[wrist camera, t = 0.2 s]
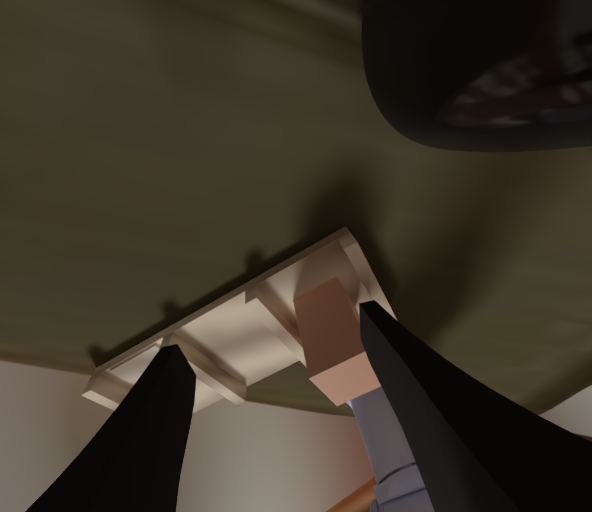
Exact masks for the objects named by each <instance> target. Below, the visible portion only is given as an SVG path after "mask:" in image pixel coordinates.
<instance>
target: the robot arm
mask: <svg viewBox="0 0 592 512" xmlns="http://www.w3.org/2000/svg"><path fill="white" fill-rule="evenodd" d="M359 314H360V338H361V341H362V344H363V346H364V349H365V352H366V355H367V357H368V360H369V362H370V364H371V367H372V369H373V371H374V373H375V375H376V377H377V379H378V381H379V383H380V385H381V386H380V387H378V388H376V389H374V390H372V391H369V392H367V393H365V394H363V395H361V396H358V397H356V398H354V399H352V400H350V401H347V402H346V403H347V404H348V405H349V406H350V407H351V408H352V409H353V411H354V414H355V417H356V421H357V424H358V427H359V430H360V433H361V436H362V439H363V442H364V445H365V448H366V451H367V455H368V458H369V461H370V464H371V467H372V470H373V473H374V476H375V479H376V482H377V486H374V487H373V489H374V493H375V496H376V499H374V500H372V502H371V509H370V512H592V442H590V441H588V440H586V439H584V438H582V437H580V436H577V435H575V434H573V433H571V432H569V431H567V430H565V429H563V428H561V427H559V426H557V425H555V424H554V423H552V422H550V421H548V420H546V419H544V418H542V417H540V416H538V415H536V414H534V413H533V412H531V411H529V410H527V409H526V408H524V407H522V406H520V405H518V404H517V403H515V402H513V401H511V400H510V399H508V398H506V397H504V396H502V395H501V394H499V393H497V392H495V391H494V390H492V389H490V388H489V387H487V386H486V385H484V384H482V383H481V382H479V381H478V380H476V379H474V378H473V377H471V376H470V375H468V374H467V373H465V372H464V371H462V370H461V369H459V368H458V367H456V366H455V365H453V364H452V363H450V362H449V361H448V360H446V359H445V358H443V357H442V356H441V355H439V354H438V353H437V352H435V351H434V350H433V349H431V348H430V347H429V346H427V345H426V344H425V343H424V342H422V341H421V340H420V339H419V338H417V337H416V336H415V335H414V334H413V333H411V332H410V331H409V330H408V329H406V328H405V327H404V326H403V325H402V324H401V323H399V322H398V321H397V320H396V319H395V318H394V317H393V316H392V315H390V314H389V313H388V312H387V311H386V310H385V309H384V308H383V307H382V306H381V305H380V304H379V303H378V302H376V301H375V300H372V301H367V302H363V303H359ZM195 391H196V374H195V372H194V370H193V369H192V367H191V365H190V364H189V362H188V360H187V359H186V357H185V355H184V354H183V352H182V350H181V349H180V347H179V345H178V344H174V345H169V346H165V347H161V349H160V350H159V351H158V353H157V354H156V355H155V357H154V358H153V359H152V361H151V362H150V364H149V365H148V366H147V368H146V369H145V371H144V372H143V373H142V375H141V376H140V377H139V379H138V380H137V382H136V383H135V384H134V386H133V387H132V388H131V390H130V391H129V392H128V394H127V395H126V396H125V398H124V399H123V400H122V402H121V403H120V404H119V406H118V407H117V408H116V410H115V411H114V412H113V413H112V415H111V416H110V417H109V418H108V420H107V421H106V422H105V423H104V425H103V426H102V427H101V429H100V430H99V431H98V432H97V433H96V435H95V436H94V437H93V438H92V440H91V441H90V442H89V443H88V444H87V446H86V447H85V448H84V449H83V450H82V451H81V453H80V454H79V455H78V456H77V457H76V458H75V459H74V460H73V462H72V463H71V464H70V465H69V466H68V467H67V468H66V470H65V471H64V472H63V473H62V474H61V475H60V476H59V477H58V478H57V479H56V481H55V482H54V483H53V484H52V485H51V486H50V487H49V488H48V489H47V490H46V491H45V492H44V493H43V494H42V495H41V496H40V497H39V498H38V499H37V500H36V501H35V502H34V503H33V504H32V505H31V506H30V507H29V508H28V510H27V511H26V512H176V504H177V496H178V487H179V480H180V473H181V468H182V463H183V458H184V453H185V449H186V444H187V438H188V434H189V429H190V423H191V418H192V413H193V408H194V402H195Z"/></svg>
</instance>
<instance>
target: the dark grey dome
mask: <svg viewBox="0 0 592 512" xmlns="http://www.w3.org/2000/svg"><path fill="white" fill-rule="evenodd" d="M362 52H363V62H364V68H365V73H366V78H367V82H368V85H369V88H370V91H371V94H372V96H373V99H374V101H375V103H376V105H377V107H378V109H379V110H380V112H381V113H382V115H383V116H384V118H385V119H386V120H387V121H388V123H389V124H390V125H391V126H392V127H393V128H394V129H395V130H396V131H398V132H399V133H400V134H402V135H403V136H405V137H406V138H408V139H410V140H412V141H414V142H417V143H419V144H422V145H426V146H429V147H434V148H438V149H444V150H453V151H469V152H525V151H540V150H553V149H565V148H575V147H585V146H592V0H365V3H364V11H363V21H362Z"/></svg>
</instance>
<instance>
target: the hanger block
mask: <svg viewBox="0 0 592 512" xmlns="http://www.w3.org/2000/svg"><path fill="white" fill-rule="evenodd" d="M293 303H294V308H295V313H296V318H297V323H298V327H299V332H300V337H301V342H302V347H303V352H304V357H305V361H306V366H307V371H308V376H309V379H310V380H311V381H312V382H313V383H314V384H315V385H316V386H317V387H318V388H319V389H320V390H321V391H322V392H323V393H324V394H325V395H326V396H327V397H328V398H329V399H330V400H331V401H332V402H333V403H334V404H335V405H336V406H339V405H341V404H343V403H345V402H347V401H350V400H352V399H354V398H356V397H358V396H361V395H363V394H365V393H367V392H369V391H372V390H374V389H376V388H378V387H380V386H381V385H380V383H379V381H378V379H377V377H376V375H375V373H374V371H373V369H372V367H371V364H370V362H369V360H368V357H367V355H366V352H365V349H364V346H363V344H362V341H361V338H360V315H359V313H358V311H357V309H356V307H355V305H354V304H353V302H352V300H351V299H350V297H349V296H348V294H347V292H346V291H345V289H344V288H343V286H342V284H341V283H340V281H339V280H338V278H337V276H336V277H334V278H332V279H331V280H329V281H327V282H325V283H323V284H321V285H319V286H318V287H316V288H314V289H312V290H310V291H308V292H307V293H305V294H303V295H301V296H299V297H297V298H295V299H294V300H293Z"/></svg>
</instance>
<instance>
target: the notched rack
mask: <svg viewBox="0 0 592 512" xmlns="http://www.w3.org/2000/svg"><path fill="white" fill-rule="evenodd" d="M336 276H337V278H338V280H339V281H340V283H341V284H342V286H343V288H344V289H345V291H346V292H347V294H348V296H349V297H350V299H351V300H352V302H353V304H354V305H355V307H356V309H357V311H358V313H359V303H363V302H367V301H372V300H375V301H376V302H378V303H379V304H380V305H381V306H382V307H383V308H384V309H385V310H386V311H387V312H388V313H389V314H390V315H392V316H393V317H394V318H395V319H396V317H395V315H394V313H393V311H392V309H391V307H390V305H389V303H388V301H387V299H386V297H385V295H384V293H383V291H382V289H381V287H380V285H379V284H378V282H377V280H376V278H375V276H374V274H373V272H372V270H371V268H370V266H369V264H368V262H367V260H366V258H365V256H364V254H363V252H362V250H361V248H360V246H359V244H358V242H357V241H356V239H355V238H354V237H353V235H352V234H351V232H350V231H349V230H348V228H347V227H346V226H345V227H343V228H341V229H339V230H338V231H336V232H334V233H332V234H331V235H329V236H327V237H325V238H324V239H322V240H320V241H318V242H317V243H315V244H313V245H311V246H310V247H308V248H306V249H304V250H303V251H301V252H299V253H297V254H296V255H294V256H292V257H290V258H289V259H287V260H285V261H283V262H282V263H280V264H278V265H276V266H274V267H273V268H271V269H269V270H267V271H266V272H264V273H262V274H260V275H259V276H257V277H255V278H253V279H252V280H250V281H248V282H246V283H245V284H243V285H241V286H239V287H238V288H236V289H234V290H232V291H231V292H229V293H227V294H225V295H224V296H222V297H220V298H218V299H217V300H215V301H213V302H211V303H210V304H208V305H206V306H204V307H203V308H201V309H199V310H197V311H196V312H194V313H192V314H190V315H189V316H187V317H185V318H183V319H182V320H180V321H178V322H176V323H174V324H173V325H171V326H169V327H167V328H166V329H164V330H162V331H160V332H159V333H157V334H155V335H153V336H152V337H150V338H148V339H146V340H145V341H143V342H141V343H139V344H138V345H136V346H134V347H132V348H131V349H129V350H127V351H125V352H124V353H122V354H120V355H118V356H117V357H115V358H113V359H111V360H110V361H108V362H106V363H104V364H103V365H101V366H99V367H97V368H96V369H95V371H94V373H93V375H92V377H91V378H90V380H89V382H88V384H87V386H86V387H85V389H84V391H83V393H82V396H84V397H86V398H88V399H91V400H93V401H95V402H97V403H99V404H101V405H103V406H105V407H107V408H110V409H112V410H114V411H115V410H116V408H117V407H118V406H119V404H120V403H121V402H122V400H123V399H124V398H125V396H126V395H127V394H128V392H129V391H130V390H131V388H132V387H133V386H134V384H135V383H136V382H137V380H138V379H139V377H140V376H141V375H142V373H143V372H144V371H145V369H146V368H147V366H148V365H149V364H150V362H151V361H152V359H153V358H154V357H155V355H156V354H157V353H158V351H159V350H160V349H161V347H165V346H169V345H174V344H178V345H179V347H180V349H181V350H182V352H183V354H184V355H185V357H186V359H187V360H188V362H189V364H190V365H191V367H192V369H193V370H194V372H195V374H196V391H195V402H194V408H193V413H195V412H197V411H199V410H201V409H203V408H205V407H207V406H209V405H211V404H213V403H215V402H217V401H219V400H221V399H223V398H227V399H228V400H229V401H231V402H232V403H234V404H236V405H237V406H238V405H240V404H242V403H244V402H246V387H247V386H249V385H251V384H253V383H255V382H257V381H259V380H261V379H263V378H265V377H267V376H269V375H271V374H273V373H275V372H277V371H279V370H281V369H283V368H285V367H287V366H289V365H291V364H293V363H295V362H297V361H299V360H300V361H301V362H302V363H303V364H304V365H305V366H306V361H305V357H304V352H303V347H302V342H301V337H300V332H299V327H298V323H297V318H296V313H295V308H294V303H293V300H294V299H295V298H297V297H299V296H301V295H303V294H305V293H307V292H308V291H310V290H312V289H314V288H316V287H318V286H319V285H321V284H323V283H325V282H327V281H329V280H331V279H332V278H334V277H336ZM359 315H360V314H359ZM396 320H397V319H396ZM306 367H307V366H306ZM193 413H192V414H193Z"/></svg>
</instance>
